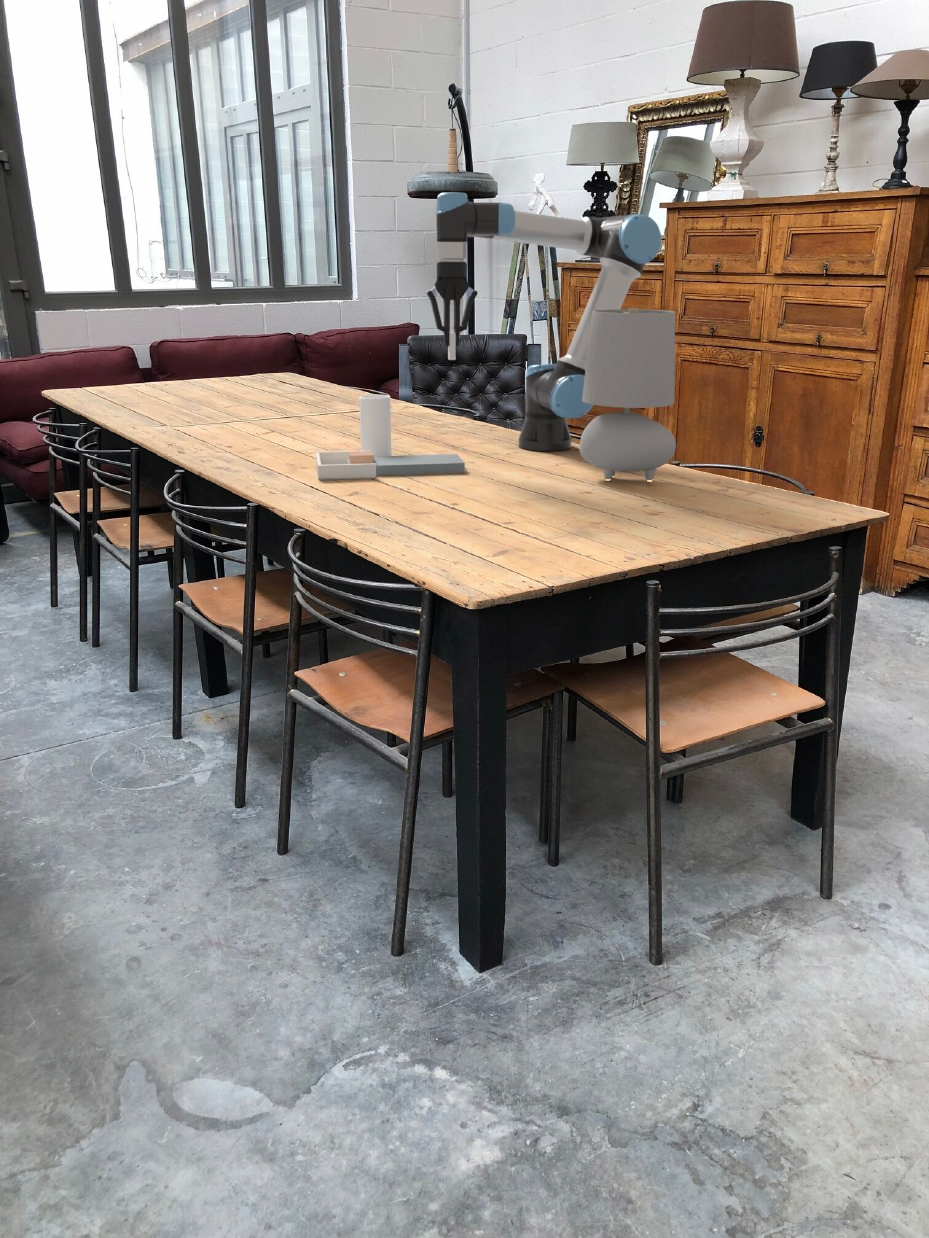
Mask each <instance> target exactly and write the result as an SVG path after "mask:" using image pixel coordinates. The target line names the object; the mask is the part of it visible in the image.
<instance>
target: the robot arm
mask: <svg viewBox="0 0 929 1238" xmlns="http://www.w3.org/2000/svg"><path fill="white" fill-rule="evenodd" d="M435 211H436V212H435V216H436V219H435V220H436V259H437V260H438V261H437V263H436V281H435V283H434V287H432V288H431V289H428V290H426V292H425V293H426V296H427V297H428V299H429V301H430V305H431V308H432V313H433V318H434V321H435V322H434V323H435V326H436V329H437V330H438V331H441V332H443V345H444V346H445V347H447V359H448V360H449V361H456V360H457V359H456V353H457V351H456V349H457V348H456V347H459V346H460V341H461V339H460V338H461V337H460V335H461V332H463V331H466V330H467V329H468V326H469V322H470V317H471V313H472V309H473V308H472V307H473V304H474V300H475V299H476V297H477V296H478V291H477V290H475V289H473V288H472V287H470V285H469V284H470V283H469V281H468V263H467V261H466V260H467V259H468V238H482V239H490V240H498V241H503V242H504V241H505V242H512V243H513V242H514V243H519V244H520V243H521V244H527V245H535V246H541V247H542V246H543V247H550V248H557V249H564V250H571V251H572V250H573V251H576V254H578V255H579V256H585V257H586V256H587V257H592V258H595V259H599V262H600V266H601V269H600V272H599V274H598V277H597V279H596V281H595V283H594V287H593V289H592V292H591V294H590V297H589V298H588V300H587V304H586V306H585V309H584V310H583V314H582V316H581V318H580V320H579V323H578V325H577V327H576V330H575V332H574V336H573V338H572V340H571V342H570V345H569V346H568V350H567V352H566V354H565V355H564V356H561V357H559V358H557V359H558V360H557V362H556V363H546V364H532V365H529V366H528V367H527V368H526V375H525V413H524V414H525V417H524V418H525V419H524V422H523V425H522V427H521V431H520V434H519V437H518V444H517V445H518V447H519V448H520V449H523V450H528V451H538V452H555V451H556V452H559V451H564V450H570V449H571V448H572V437H571V433H570V429H569V426H568V422H567V419H579V418H581V417H583V416H585V415H587V413H589V412H590V410H591V409H592V408H593V407H594V405H592V404H588V403H585V402H583V401H582V396H583V387H584V379H585V370H586V362H587V354H588V345H589V337H590V328H591V320H592V312H593V310H605V309H621V308H622V306H623V304H624V302H625V299H626V296H627V294H628V292H629V289H630V287H631V285H632V283H633V281H634V280H635V279H638V278H640V277H641V276H642V273H643V271H644V269H645V266H646V264H647V263H649V262H651V261H652V260H653V259H655V258H656V257H657V256H658V254H659V252H660V249H661V246H662V233H661V230H660V227H659V226H658V224H657V222H656V221H655V220H654V219H653V218H652V217H650V216H649V215H645V214H640V213H632V214H628V215H613V216H608V217H607V216H606V217H588V216H584V217H582V218H581V219H575V218H566V217H559V216H553V215H545V214H538V213H534V212H533V213H531V212H525V211H519V210H518V211H517V210H515V208H514V206H513V205H512V204H511V203H508V202H501V201H499V202H473V201H469V199H468V194H467V193H465V192H458V191H457V192H456V191H454V192H453V191H451V192H441V193H439V194H438V195H437V198H436V210H435ZM466 292H467V293H466ZM437 293H438V294H439V296H440V297H441V299H442V301H443V323H442V317H441V313H440V310H439V306H438V300H437V298H436V297H437V295H438V294H437ZM465 294H466V296H467V299H466V302H465V308H464V311H463V316H462V319H461V299H463V297H464V296H465ZM451 301H453V332H450V331H451ZM461 320H462V321H461Z"/></svg>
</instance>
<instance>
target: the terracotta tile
mask: <svg viewBox="0 0 929 1238" xmlns="http://www.w3.org/2000/svg"><path fill="white" fill-rule="evenodd" d="M347 451H348V460H349V463H350V464H363V463H374V455H373V453H372V451H361V450H347Z"/></svg>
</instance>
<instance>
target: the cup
mask: <svg viewBox="0 0 929 1238" xmlns="http://www.w3.org/2000/svg"><path fill="white" fill-rule="evenodd" d="M358 402H359V421H360V422H359V423H360V424H359V427H360V430H359V431H360V451H366V450H370V451H372V453H373V455H374V456H393V455H392V421H391V416H392V414H391V413H392V412H391V411H392V410H391V396H390V395H386V394H364V395H363V394H362V395H359V401H358Z"/></svg>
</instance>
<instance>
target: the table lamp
mask: <svg viewBox="0 0 929 1238" xmlns="http://www.w3.org/2000/svg"><path fill="white" fill-rule="evenodd" d="M675 354H676V311H673V310H663V309H639V308H632V307H631V308H627V309H626V308H622V309H621V308H620V309H605V310H593V312H592V320H591V328H590V337H589V345H588V354H587V362H586V370H585V379H584V387H583V396H582V401H583V402H585V403H588V404H592V405H593V406H599V407H606V408H607V407H608V408H609V407H610V408H623V411H613V412H608V413H604V414H601V415H598V416H596V417H595V418H593V419H592V420H591V421H590V422H589V423H588V424H587V426H586V427H585V428H584V430H583V431H582V433H581V436H580V441H579V453H580V456H581V458H582V459H583V460H585V462H587V464H589V465H591V466H593V467H595V468H598V469H603V475H604V480H605V479H611V480H613V478H612V476H614V477H615V474H616V472H624V473H627V472H628V473H632V472H633V473H634V472H635V473H637V472H643V471H644V475H645V480H646V479H647V480H652V479H653V480H654V478H655V474H656V473H655V472H656V470H657V468H660V467H662V466H665V465H666V464H667V463H669V462H670V461H671V459H672V458H673V457H674V454H675V452H676V447H677V445H676V444H677V442H676V439H675V435H674V434H673V433H672V432H671V431H670V430H669V429H668V428H667V427H666V426H664V425H663V424H661V423H659V422H658V421H656V420H654V419H652V418H650V417H648V416H645V415H644V414H643V415H642V414H639V413H635V412H631V409H642V408H643V409H647V408H649V409H650V408H661V407H669V406H672V405H674V404H675V379H676V377H675V371H676V370H675V368H676V367H675V366H676V365H675V362H676V361H675V359H676V357H675V356H676V355H675Z"/></svg>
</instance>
